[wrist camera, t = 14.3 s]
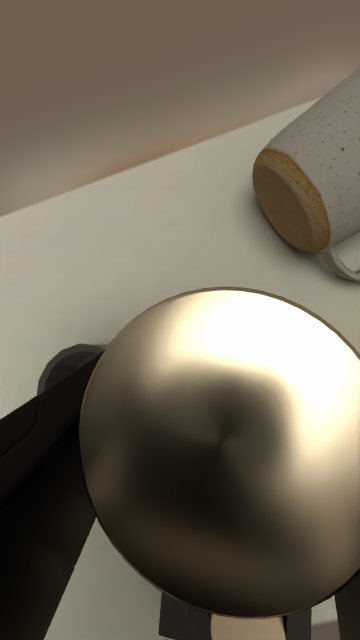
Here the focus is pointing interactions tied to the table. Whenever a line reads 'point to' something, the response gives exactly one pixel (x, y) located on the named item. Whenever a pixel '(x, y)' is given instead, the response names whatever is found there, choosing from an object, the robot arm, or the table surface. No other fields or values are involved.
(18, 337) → the table surface
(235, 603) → the orange metal cylinder
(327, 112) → the ceramic mug
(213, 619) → the release button
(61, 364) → the capsule holder
